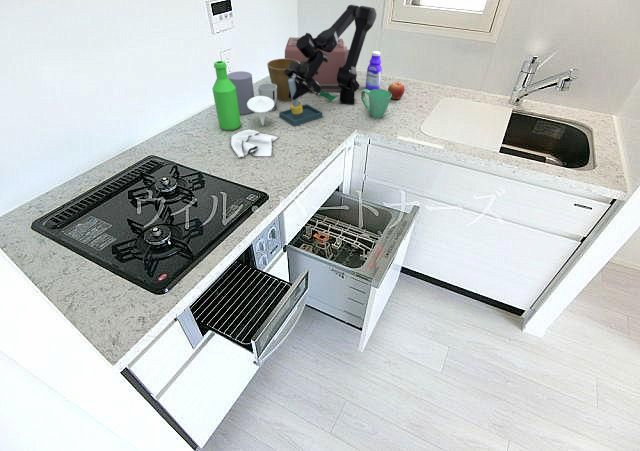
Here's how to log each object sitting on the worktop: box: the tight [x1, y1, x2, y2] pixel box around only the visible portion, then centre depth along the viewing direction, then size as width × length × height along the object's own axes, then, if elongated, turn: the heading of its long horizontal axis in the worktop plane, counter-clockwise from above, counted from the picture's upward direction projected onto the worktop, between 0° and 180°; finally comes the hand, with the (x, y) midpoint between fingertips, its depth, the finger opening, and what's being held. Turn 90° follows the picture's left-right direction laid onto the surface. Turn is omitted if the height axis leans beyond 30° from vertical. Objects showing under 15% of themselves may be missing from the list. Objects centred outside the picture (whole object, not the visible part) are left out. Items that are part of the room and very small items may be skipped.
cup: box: [257, 82, 278, 112], centre depth 150 cm, size 8×8×10 cm
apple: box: [387, 81, 406, 100], centre depth 163 cm, size 8×8×8 cm
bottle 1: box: [212, 60, 242, 131], centre depth 131 cm, size 9×9×25 cm
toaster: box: [284, 36, 350, 93], centre depth 171 cm, size 19×34×20 cm, turn 89°
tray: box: [278, 103, 323, 127], centre depth 147 cm, size 15×11×2 cm
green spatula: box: [310, 87, 339, 102], centre depth 162 cm, size 21×2×5 cm, turn 41°
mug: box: [360, 88, 392, 119], centre depth 148 cm, size 15×10×10 cm
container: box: [227, 70, 255, 115], centre depth 147 cm, size 10×10×15 cm
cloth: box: [230, 129, 279, 158], centre depth 127 cm, size 20×22×2 cm
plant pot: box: [266, 58, 300, 102], centre depth 158 cm, size 15×15×16 cm
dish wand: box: [288, 78, 303, 114], centre depth 138 cm, size 5×5×14 cm
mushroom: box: [247, 95, 274, 127], centre depth 137 cm, size 10×11×12 cm
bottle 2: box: [365, 50, 383, 91], centre depth 169 cm, size 7×6×17 cm
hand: (291, 98), depth 138 cm, fingers closed on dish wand, 2 cm apart
